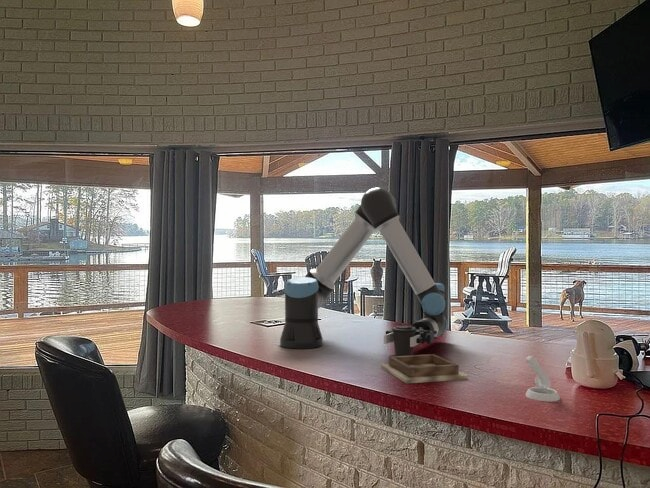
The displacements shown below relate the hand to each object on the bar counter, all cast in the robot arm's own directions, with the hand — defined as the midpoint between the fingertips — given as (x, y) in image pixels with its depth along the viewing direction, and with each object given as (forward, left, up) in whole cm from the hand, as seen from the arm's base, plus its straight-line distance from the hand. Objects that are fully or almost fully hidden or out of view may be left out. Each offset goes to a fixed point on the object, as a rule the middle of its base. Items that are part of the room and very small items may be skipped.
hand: (398, 341), depth 169 cm
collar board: (0, -17, -6) cm, 18 cm away
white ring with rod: (+18, -45, -6) cm, 49 cm away
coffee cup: (+3, +3, -6) cm, 8 cm away
